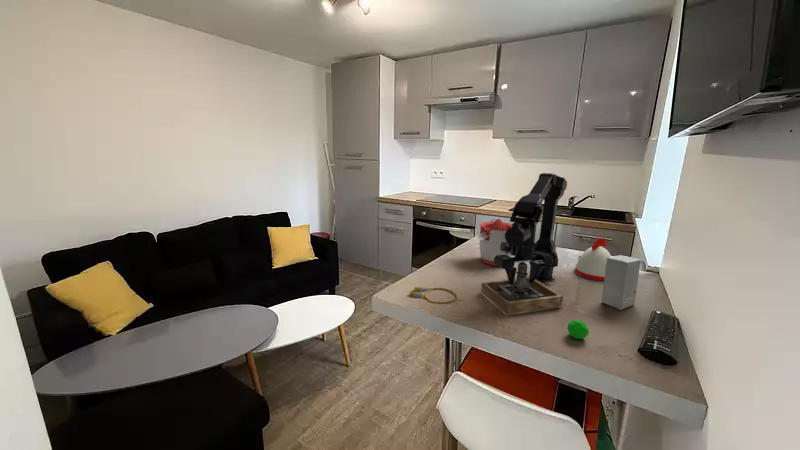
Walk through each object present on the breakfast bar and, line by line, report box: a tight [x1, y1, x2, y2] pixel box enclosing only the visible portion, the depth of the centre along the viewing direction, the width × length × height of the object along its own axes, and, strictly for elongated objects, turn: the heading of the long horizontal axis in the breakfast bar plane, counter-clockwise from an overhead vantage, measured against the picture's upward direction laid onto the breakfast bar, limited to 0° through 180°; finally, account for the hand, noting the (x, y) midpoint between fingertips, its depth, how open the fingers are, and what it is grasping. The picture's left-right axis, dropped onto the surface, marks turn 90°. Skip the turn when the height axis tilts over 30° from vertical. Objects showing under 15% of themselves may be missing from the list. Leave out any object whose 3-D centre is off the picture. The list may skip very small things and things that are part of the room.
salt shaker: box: [512, 262, 530, 297], centre depth 106 cm, size 6×6×12 cm
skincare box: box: [601, 254, 642, 311], centre depth 104 cm, size 8×7×16 cm
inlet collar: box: [498, 285, 544, 302], centre depth 108 cm, size 10×10×3 cm
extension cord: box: [409, 286, 458, 305], centre depth 112 cm, size 12×16×2 cm
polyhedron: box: [566, 319, 590, 340], centre depth 87 cm, size 5×5×5 cm
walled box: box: [480, 276, 564, 316], centre depth 108 cm, size 20×16×4 cm
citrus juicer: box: [477, 218, 513, 267], centre depth 142 cm, size 16×17×20 cm
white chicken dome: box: [574, 237, 612, 281], centre depth 130 cm, size 14×14×15 cm
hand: (521, 283), depth 107 cm, fingers closed on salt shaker, 7 cm apart
